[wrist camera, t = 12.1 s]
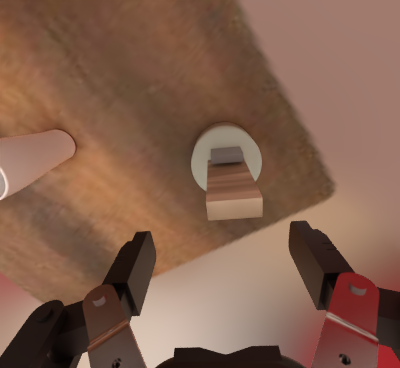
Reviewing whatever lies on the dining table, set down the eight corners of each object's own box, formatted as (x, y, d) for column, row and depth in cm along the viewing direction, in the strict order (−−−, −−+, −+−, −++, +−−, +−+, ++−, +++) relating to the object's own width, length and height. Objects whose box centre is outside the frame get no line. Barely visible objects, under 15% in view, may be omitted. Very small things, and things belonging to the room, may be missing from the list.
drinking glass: (52, 115, 35) (-46, 133, 22) (88, 142, 37) (17, 175, 23) (36, 145, 38) (-63, 178, 24) (70, 169, 39) (-4, 213, 26)
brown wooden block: (207, 160, 30) (206, 201, 19) (243, 156, 30) (262, 197, 19) (208, 173, 31) (208, 220, 20) (243, 170, 30) (262, 216, 20)
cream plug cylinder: (191, 125, 35) (183, 139, 25) (252, 118, 34) (269, 131, 25) (197, 180, 39) (193, 210, 30) (252, 176, 38) (267, 205, 29)
